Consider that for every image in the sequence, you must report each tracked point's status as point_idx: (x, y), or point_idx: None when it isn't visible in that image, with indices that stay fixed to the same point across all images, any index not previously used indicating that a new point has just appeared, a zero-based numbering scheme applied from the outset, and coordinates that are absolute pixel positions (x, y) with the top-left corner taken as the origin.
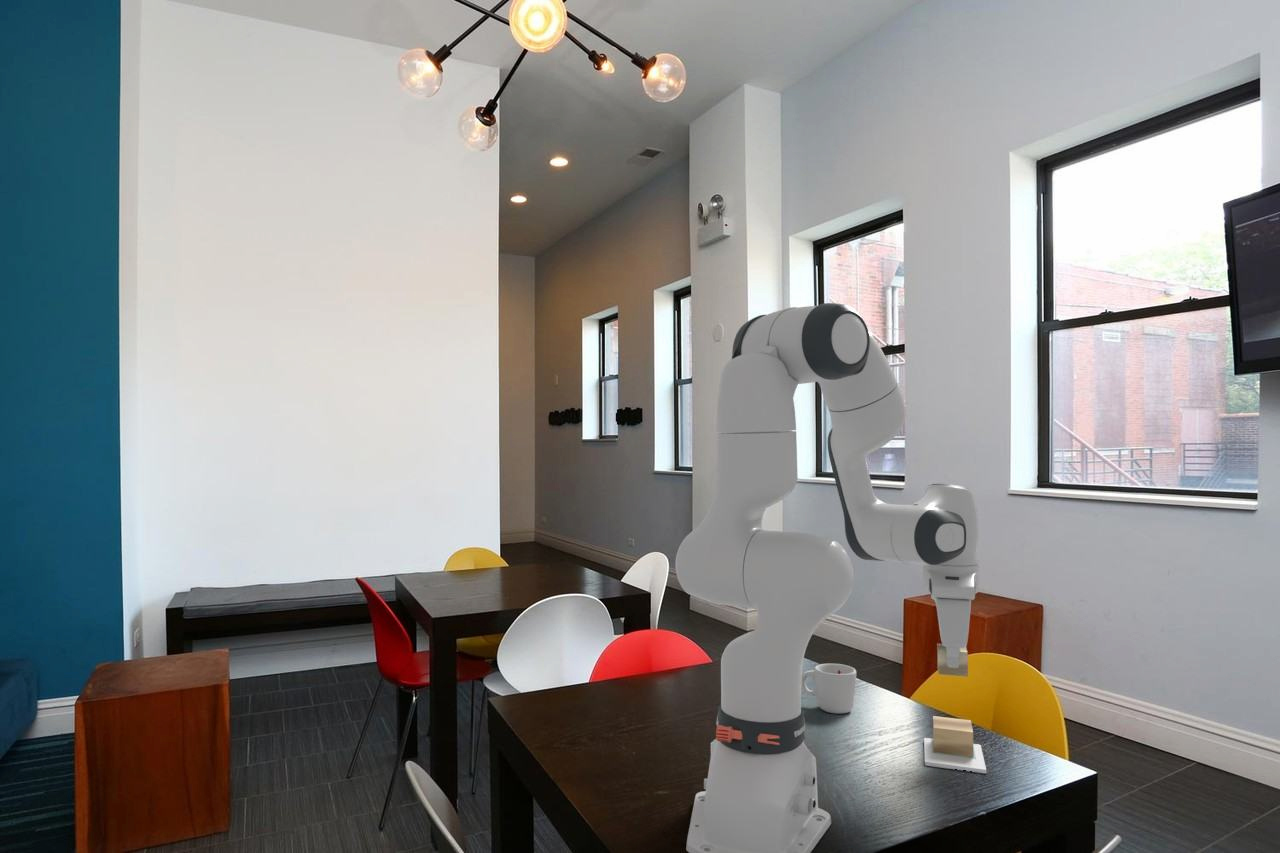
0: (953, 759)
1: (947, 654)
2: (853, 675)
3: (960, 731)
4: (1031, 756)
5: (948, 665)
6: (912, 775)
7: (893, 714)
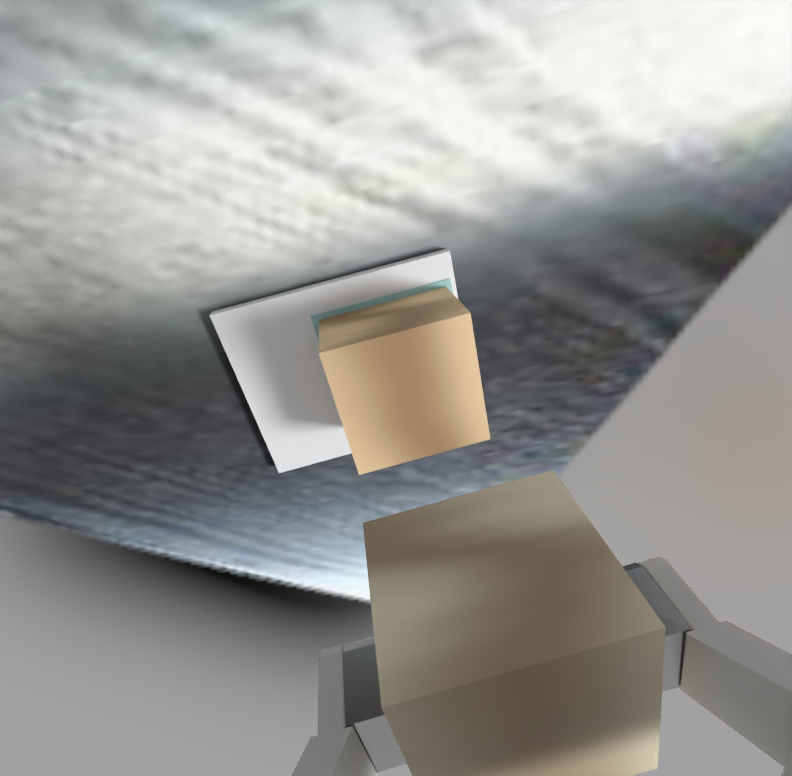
0: (297, 385)
1: (299, 767)
2: None
3: (347, 438)
4: None
5: (322, 660)
6: (89, 299)
7: (721, 37)
